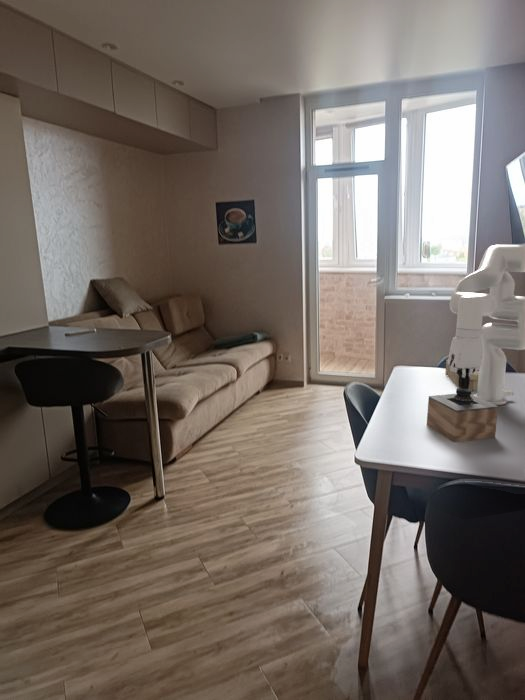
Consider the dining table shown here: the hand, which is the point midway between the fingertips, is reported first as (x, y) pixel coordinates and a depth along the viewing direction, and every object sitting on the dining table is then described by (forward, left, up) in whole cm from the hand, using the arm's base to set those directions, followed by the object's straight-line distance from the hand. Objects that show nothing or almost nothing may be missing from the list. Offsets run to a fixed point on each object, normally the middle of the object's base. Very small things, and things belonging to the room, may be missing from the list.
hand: (463, 387), depth 161 cm
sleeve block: (0, 0, -15) cm, 15 cm away
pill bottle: (0, 0, -12) cm, 12 cm away
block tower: (-39, -52, -16) cm, 66 cm away
